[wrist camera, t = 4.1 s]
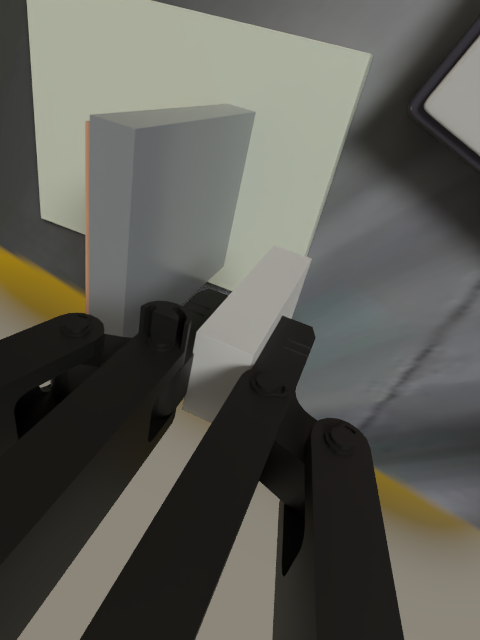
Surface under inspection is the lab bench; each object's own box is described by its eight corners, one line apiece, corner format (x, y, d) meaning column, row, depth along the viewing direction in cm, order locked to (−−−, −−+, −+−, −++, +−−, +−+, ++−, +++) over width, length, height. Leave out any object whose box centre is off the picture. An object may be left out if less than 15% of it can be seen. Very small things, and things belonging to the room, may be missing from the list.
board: (373, 55, 19) (370, 53, 18) (291, 303, 27) (286, 312, 26) (41, -26, 23) (24, -31, 22) (53, 213, 30) (41, 217, 29)
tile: (255, 111, 21) (135, 129, 12) (223, 266, 26) (121, 359, 17) (220, 101, 21) (78, 111, 12) (195, 255, 26) (81, 342, 17)
